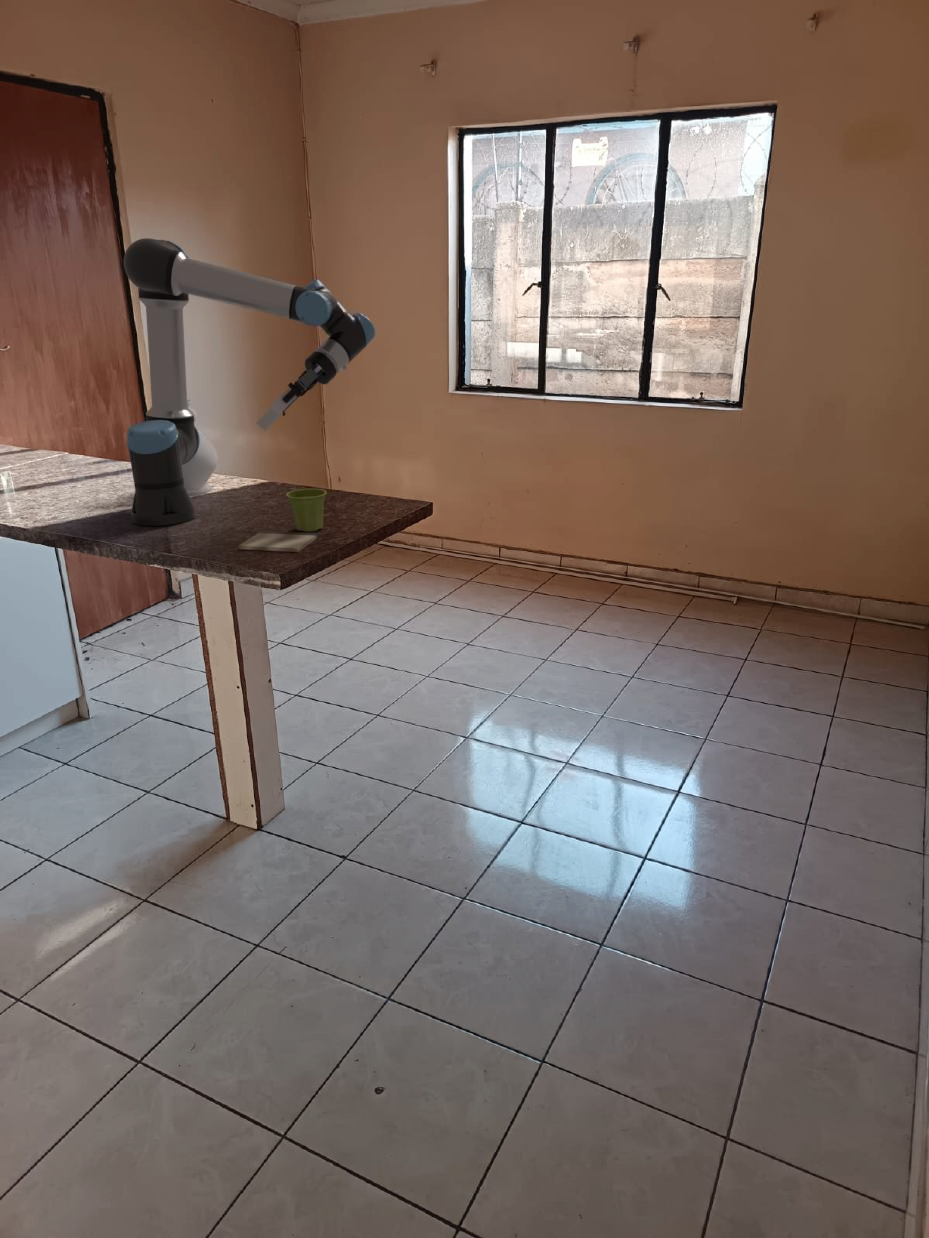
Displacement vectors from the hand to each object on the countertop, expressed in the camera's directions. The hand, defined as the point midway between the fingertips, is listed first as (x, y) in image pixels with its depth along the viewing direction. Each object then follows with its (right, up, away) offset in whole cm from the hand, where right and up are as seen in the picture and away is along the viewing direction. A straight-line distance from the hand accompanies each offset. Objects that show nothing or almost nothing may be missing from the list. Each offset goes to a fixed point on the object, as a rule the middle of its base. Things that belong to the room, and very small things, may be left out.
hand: (266, 419), depth 204 cm
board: (+5, -30, -10) cm, 32 cm away
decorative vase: (-32, -11, +42) cm, 54 cm away
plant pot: (+10, -26, +1) cm, 28 cm away
